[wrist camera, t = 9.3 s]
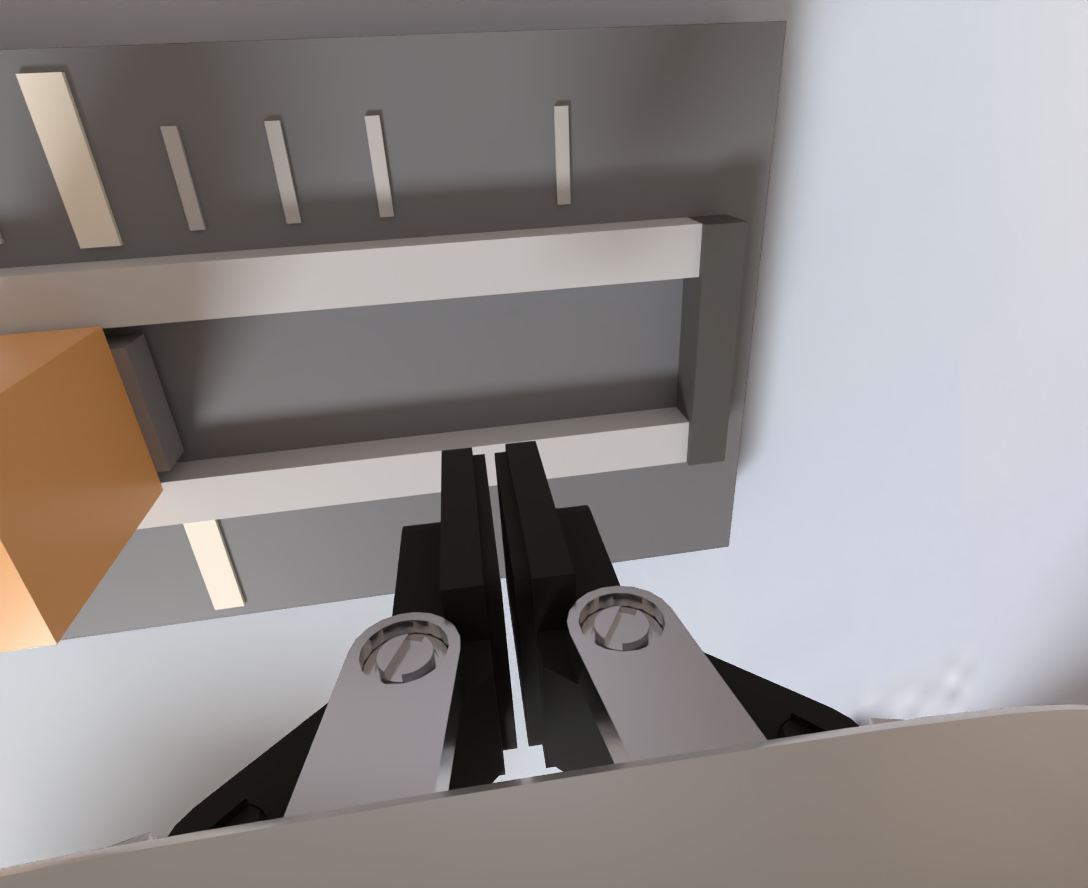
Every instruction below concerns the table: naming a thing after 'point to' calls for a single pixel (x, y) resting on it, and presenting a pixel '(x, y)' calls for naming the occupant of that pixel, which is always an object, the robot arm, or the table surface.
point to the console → (398, 283)
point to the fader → (73, 470)
